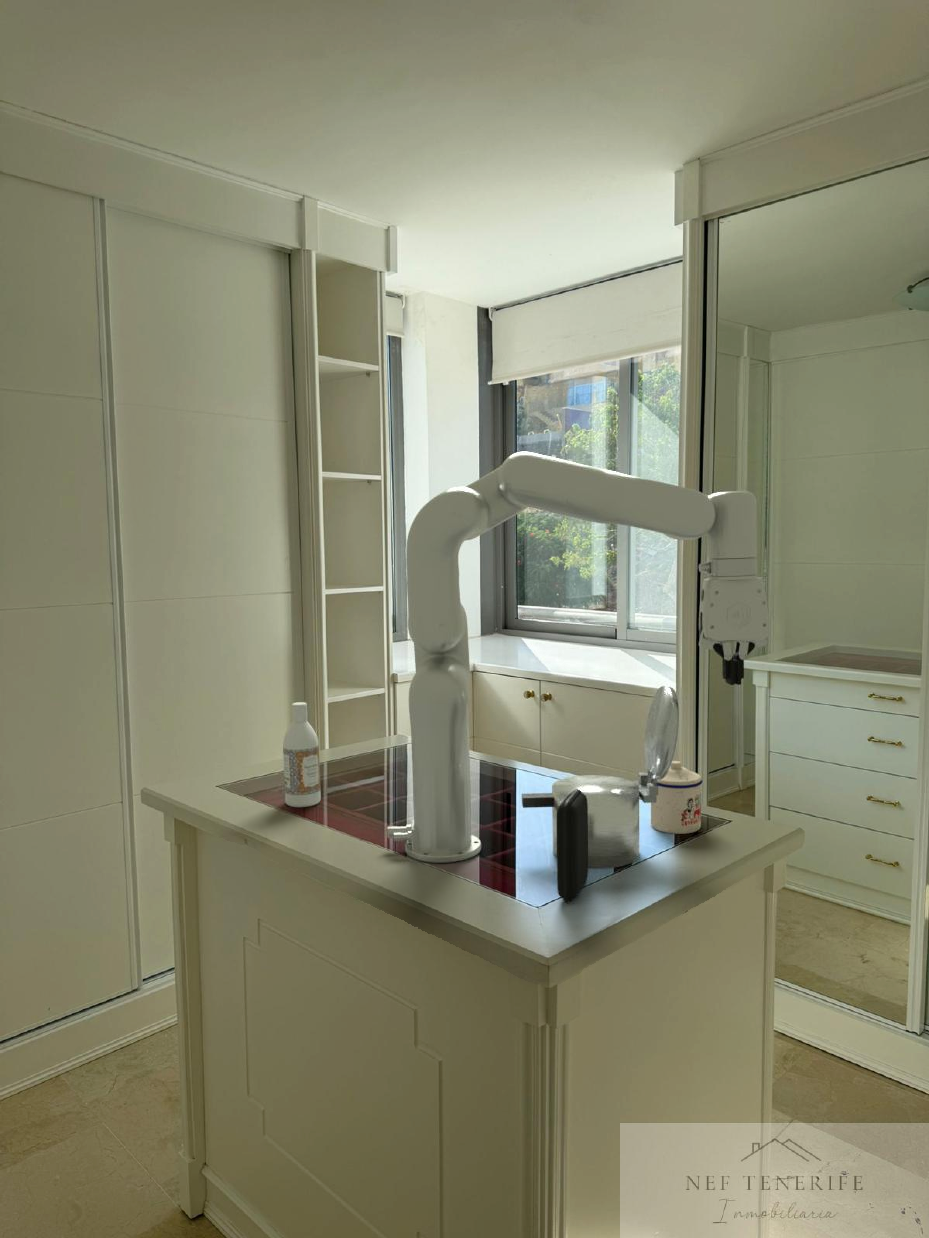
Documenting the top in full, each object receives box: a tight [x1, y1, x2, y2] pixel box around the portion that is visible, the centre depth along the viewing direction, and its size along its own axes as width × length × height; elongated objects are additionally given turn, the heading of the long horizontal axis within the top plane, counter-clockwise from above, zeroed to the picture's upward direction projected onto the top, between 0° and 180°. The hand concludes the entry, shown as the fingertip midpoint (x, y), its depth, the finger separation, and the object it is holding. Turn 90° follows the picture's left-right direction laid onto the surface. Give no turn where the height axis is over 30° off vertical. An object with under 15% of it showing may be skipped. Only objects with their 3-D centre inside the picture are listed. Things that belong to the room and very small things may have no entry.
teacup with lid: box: [650, 760, 703, 835], centre depth 158 cm, size 12×9×12 cm
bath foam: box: [282, 701, 322, 808], centre depth 176 cm, size 7×7×20 cm
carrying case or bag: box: [556, 789, 589, 904], centre depth 129 cm, size 11×3×15 cm, turn 160°
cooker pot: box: [521, 772, 658, 869], centre depth 145 cm, size 21×14×12 cm, turn 91°
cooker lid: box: [643, 685, 680, 784], centre depth 144 cm, size 16×15×3 cm
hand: (733, 683), depth 144 cm, fingers closed
